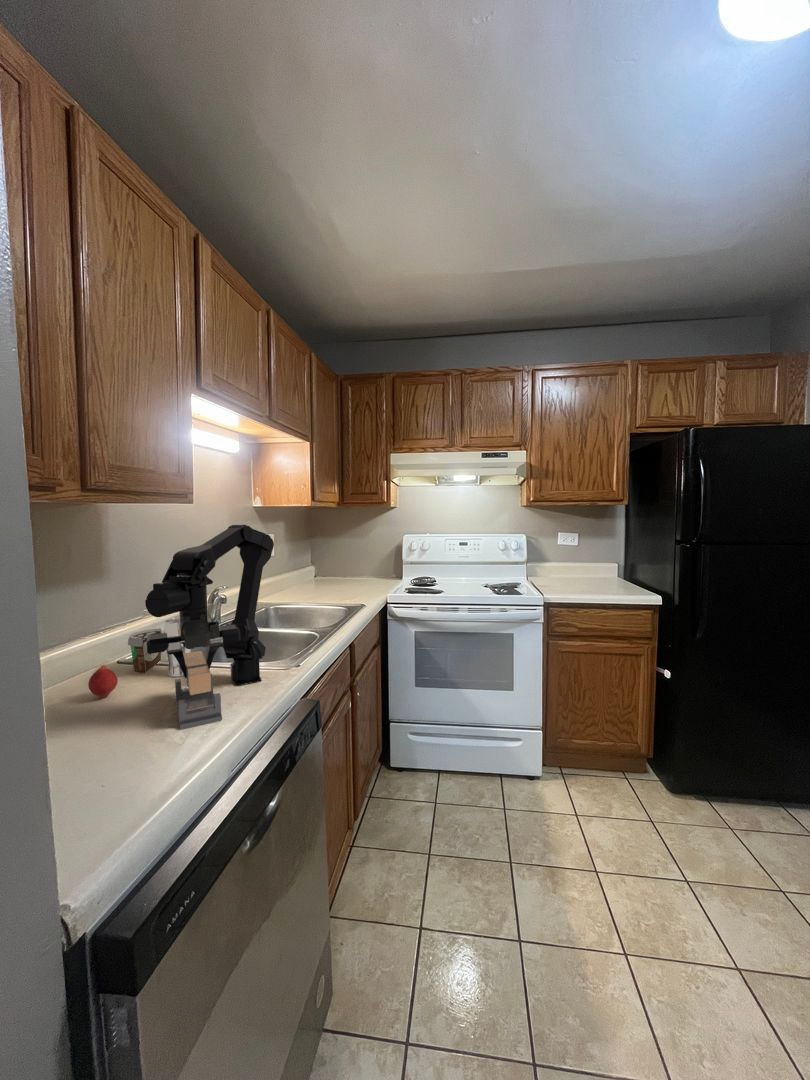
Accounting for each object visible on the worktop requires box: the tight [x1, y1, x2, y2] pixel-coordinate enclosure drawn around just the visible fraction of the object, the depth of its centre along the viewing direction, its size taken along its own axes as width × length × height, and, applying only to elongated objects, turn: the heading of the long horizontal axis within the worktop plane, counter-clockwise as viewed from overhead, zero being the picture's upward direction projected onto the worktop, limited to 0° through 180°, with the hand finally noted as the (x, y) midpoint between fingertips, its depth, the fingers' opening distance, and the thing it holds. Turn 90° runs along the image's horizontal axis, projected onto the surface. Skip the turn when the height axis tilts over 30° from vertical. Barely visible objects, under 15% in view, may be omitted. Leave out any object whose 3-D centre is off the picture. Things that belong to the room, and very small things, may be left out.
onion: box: [87, 664, 118, 699], centre depth 110 cm, size 6×6×8 cm
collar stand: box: [174, 673, 223, 731], centre depth 103 cm, size 8×18×5 cm, turn 29°
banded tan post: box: [183, 650, 211, 695], centre depth 102 cm, size 4×18×4 cm, turn 29°
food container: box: [127, 627, 163, 674], centre depth 131 cm, size 12×6×10 cm, turn 4°
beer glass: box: [163, 617, 192, 678], centre depth 126 cm, size 7×7×15 cm
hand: (196, 675), depth 103 cm, fingers closed on banded tan post, 4 cm apart
